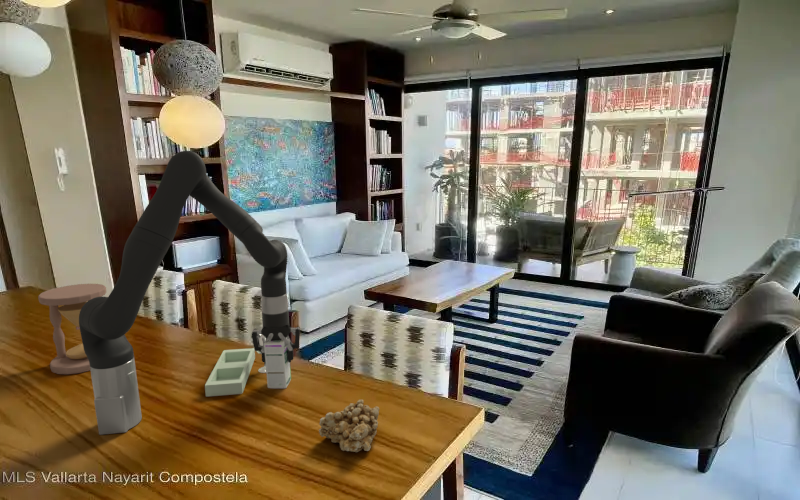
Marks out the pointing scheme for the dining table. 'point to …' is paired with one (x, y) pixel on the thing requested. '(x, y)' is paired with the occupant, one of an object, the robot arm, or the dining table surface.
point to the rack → (230, 372)
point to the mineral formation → (351, 426)
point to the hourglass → (72, 304)
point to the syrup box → (277, 364)
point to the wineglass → (261, 341)
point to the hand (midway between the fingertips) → (278, 361)
